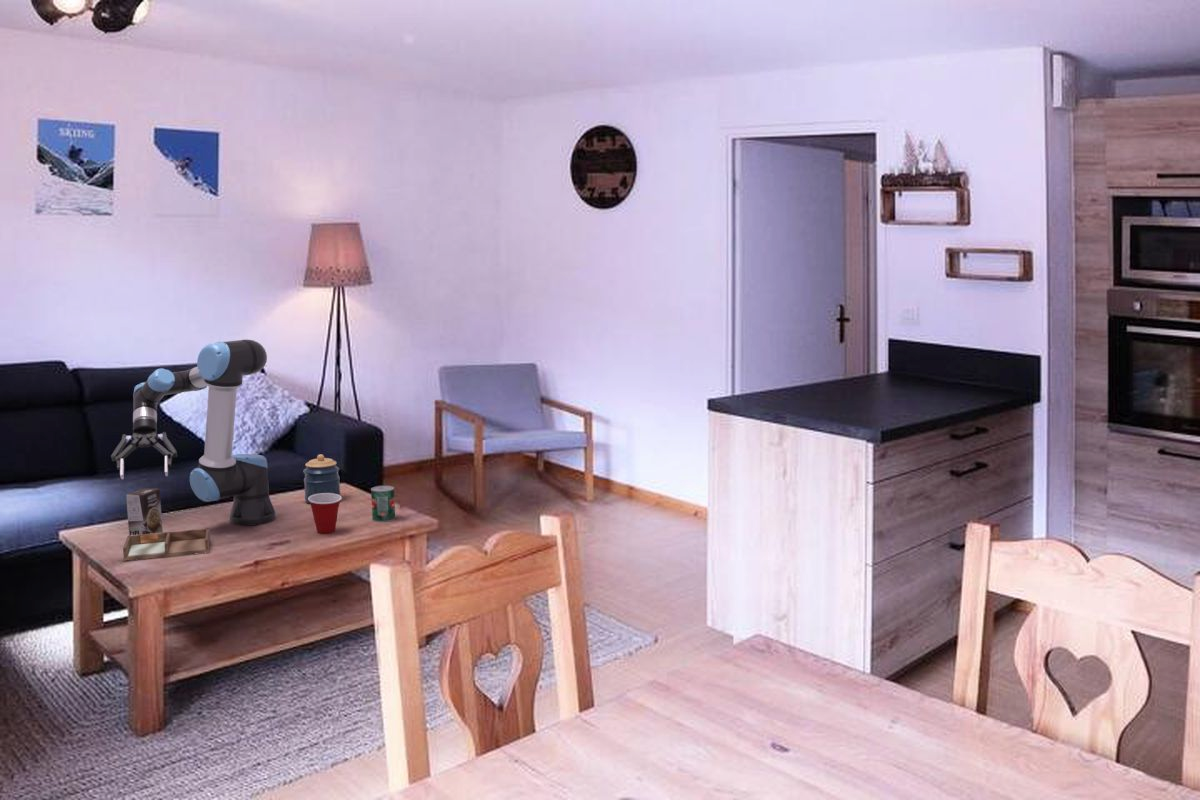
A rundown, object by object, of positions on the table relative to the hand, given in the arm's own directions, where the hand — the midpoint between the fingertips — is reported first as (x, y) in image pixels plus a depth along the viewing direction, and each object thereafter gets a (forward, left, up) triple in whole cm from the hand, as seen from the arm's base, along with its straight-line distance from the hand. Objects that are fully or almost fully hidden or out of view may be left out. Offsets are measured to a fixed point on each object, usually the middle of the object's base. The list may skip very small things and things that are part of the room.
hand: (144, 475), depth 339 cm
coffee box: (0, +11, -19) cm, 22 cm away
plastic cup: (-56, +23, -19) cm, 64 cm away
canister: (-58, -20, -19) cm, 64 cm away
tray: (-8, +27, -19) cm, 34 cm away
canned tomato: (-76, +14, -19) cm, 80 cm away
